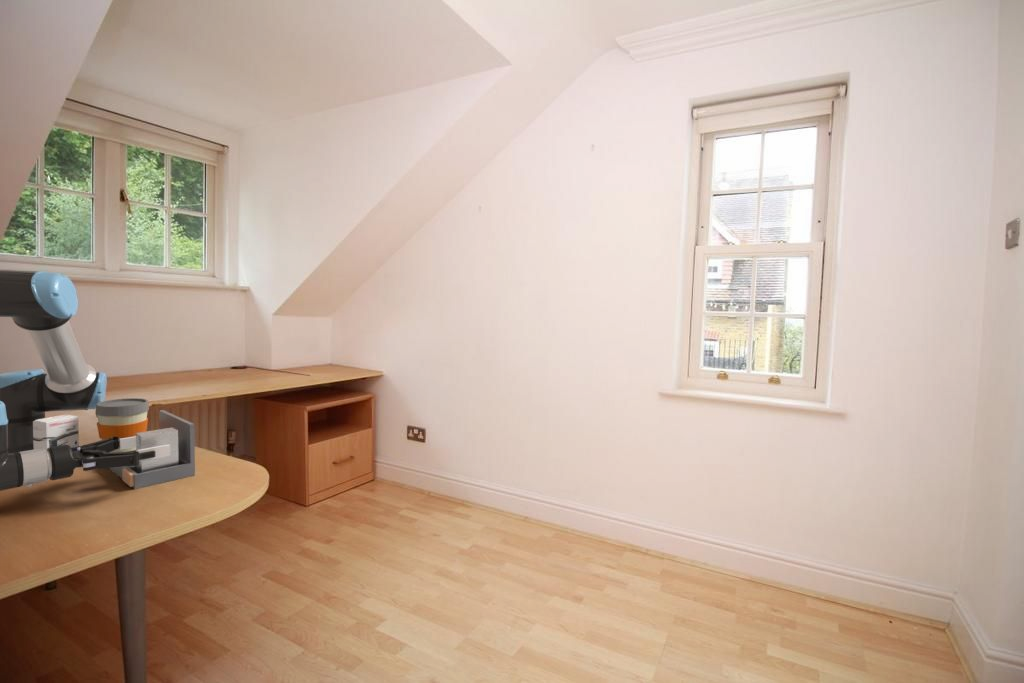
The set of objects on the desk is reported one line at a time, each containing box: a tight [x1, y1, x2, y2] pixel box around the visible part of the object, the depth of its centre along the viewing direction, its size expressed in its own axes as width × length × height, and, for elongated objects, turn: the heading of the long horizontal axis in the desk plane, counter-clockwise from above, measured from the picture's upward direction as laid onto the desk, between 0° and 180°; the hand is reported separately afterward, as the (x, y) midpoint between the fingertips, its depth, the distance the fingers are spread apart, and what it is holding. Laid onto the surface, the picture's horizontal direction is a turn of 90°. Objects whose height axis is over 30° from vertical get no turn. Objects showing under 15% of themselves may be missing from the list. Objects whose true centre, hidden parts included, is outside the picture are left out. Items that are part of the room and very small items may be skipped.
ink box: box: [33, 414, 80, 450], centre depth 136 cm, size 8×5×12 cm, turn 168°
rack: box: [109, 409, 196, 490], centre depth 129 cm, size 23×14×14 cm, turn 53°
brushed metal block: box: [136, 428, 179, 474], centre depth 124 cm, size 4×8×12 cm, turn 143°
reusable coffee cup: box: [95, 397, 150, 452], centre depth 144 cm, size 13×13×15 cm
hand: (159, 444), depth 124 cm, fingers open, 13 cm apart
